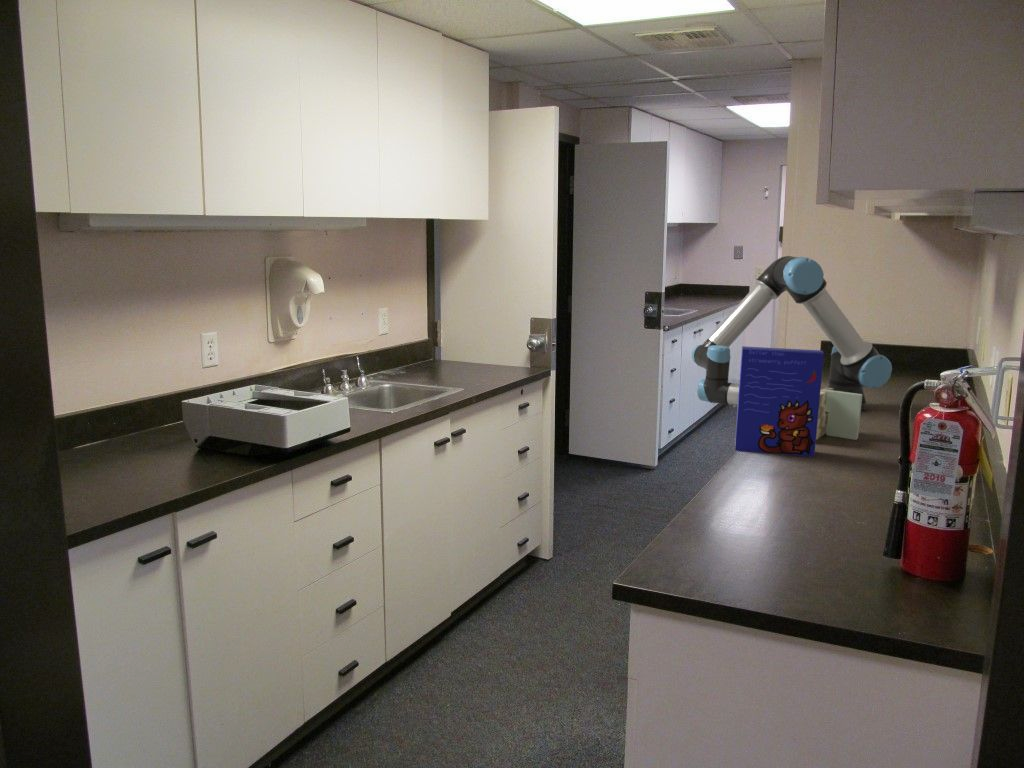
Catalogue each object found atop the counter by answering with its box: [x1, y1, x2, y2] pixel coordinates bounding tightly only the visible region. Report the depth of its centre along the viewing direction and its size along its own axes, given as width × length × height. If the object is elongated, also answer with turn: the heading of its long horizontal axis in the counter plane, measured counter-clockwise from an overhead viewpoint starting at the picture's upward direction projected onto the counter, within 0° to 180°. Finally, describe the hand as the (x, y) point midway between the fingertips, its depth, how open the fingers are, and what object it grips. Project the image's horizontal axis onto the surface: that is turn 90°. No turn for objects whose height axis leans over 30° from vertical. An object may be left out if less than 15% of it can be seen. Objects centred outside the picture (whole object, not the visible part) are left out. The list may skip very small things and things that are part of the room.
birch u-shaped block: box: [816, 386, 833, 441], centre depth 255 cm, size 20×2×14 cm, turn 144°
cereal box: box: [734, 345, 825, 458], centre depth 236 cm, size 22×6×30 cm, turn 76°
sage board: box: [820, 388, 862, 441], centre depth 259 cm, size 22×2×14 cm, turn 54°
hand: (808, 405), depth 261 cm, fingers open, 13 cm apart
